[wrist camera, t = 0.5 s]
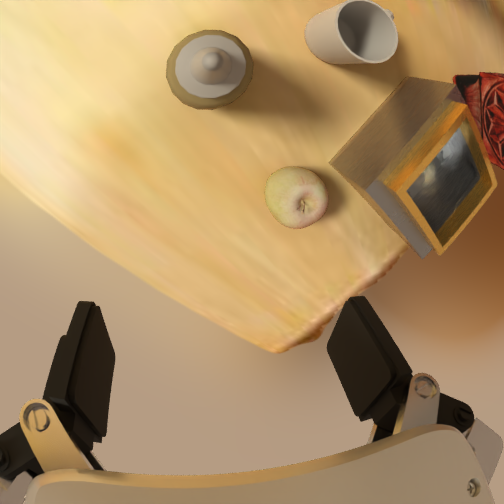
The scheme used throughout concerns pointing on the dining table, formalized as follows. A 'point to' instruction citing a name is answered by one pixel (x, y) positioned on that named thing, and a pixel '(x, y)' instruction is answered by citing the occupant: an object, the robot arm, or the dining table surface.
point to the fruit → (296, 197)
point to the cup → (352, 33)
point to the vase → (486, 109)
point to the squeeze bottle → (209, 69)
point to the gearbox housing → (420, 164)
